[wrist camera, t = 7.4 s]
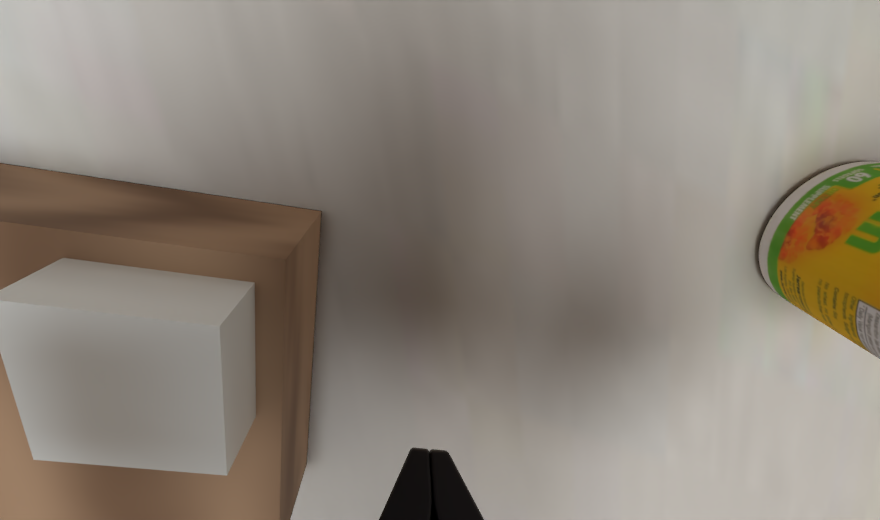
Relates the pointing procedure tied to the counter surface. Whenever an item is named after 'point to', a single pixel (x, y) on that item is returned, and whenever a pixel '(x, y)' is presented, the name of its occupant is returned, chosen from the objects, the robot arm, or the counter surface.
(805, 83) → the counter surface
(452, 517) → the robot arm
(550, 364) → the counter surface
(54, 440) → the tile
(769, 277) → the supplement bottle
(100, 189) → the brown wooden block
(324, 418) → the counter surface
